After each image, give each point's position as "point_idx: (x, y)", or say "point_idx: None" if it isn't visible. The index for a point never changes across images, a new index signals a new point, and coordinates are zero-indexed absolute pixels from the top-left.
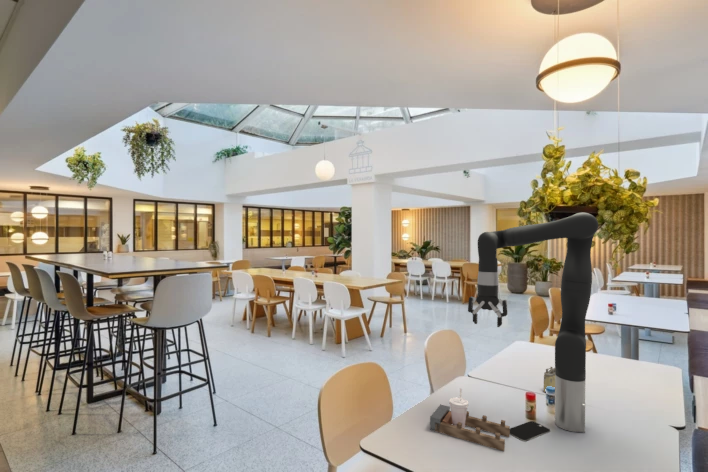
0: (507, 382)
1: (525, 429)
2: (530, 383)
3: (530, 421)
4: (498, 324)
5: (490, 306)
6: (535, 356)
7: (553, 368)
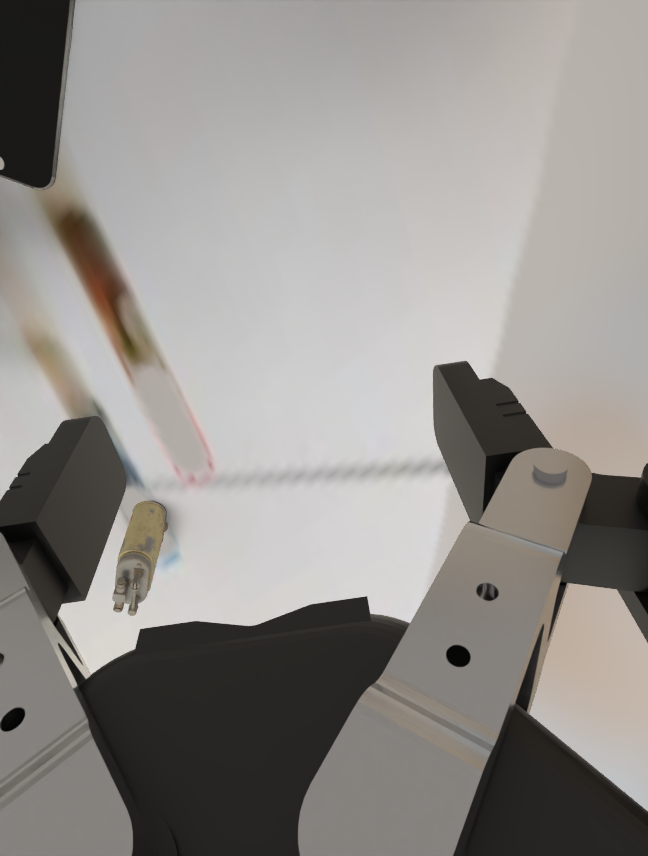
0: (303, 502)
1: (16, 55)
2: (231, 542)
3: (51, 178)
4: (61, 437)
5: (128, 738)
6: None
7: (119, 605)
